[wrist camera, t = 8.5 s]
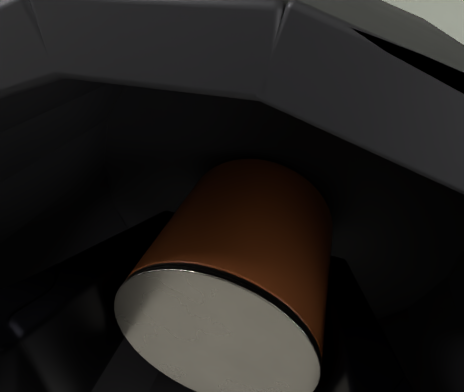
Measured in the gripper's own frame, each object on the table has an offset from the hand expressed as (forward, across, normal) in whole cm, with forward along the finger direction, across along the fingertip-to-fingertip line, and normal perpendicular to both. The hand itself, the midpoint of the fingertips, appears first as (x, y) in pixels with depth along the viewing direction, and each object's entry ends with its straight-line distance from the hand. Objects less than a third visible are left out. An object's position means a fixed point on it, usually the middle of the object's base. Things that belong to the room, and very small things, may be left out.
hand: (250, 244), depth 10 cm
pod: (+1, 0, 0) cm, 1 cm away
